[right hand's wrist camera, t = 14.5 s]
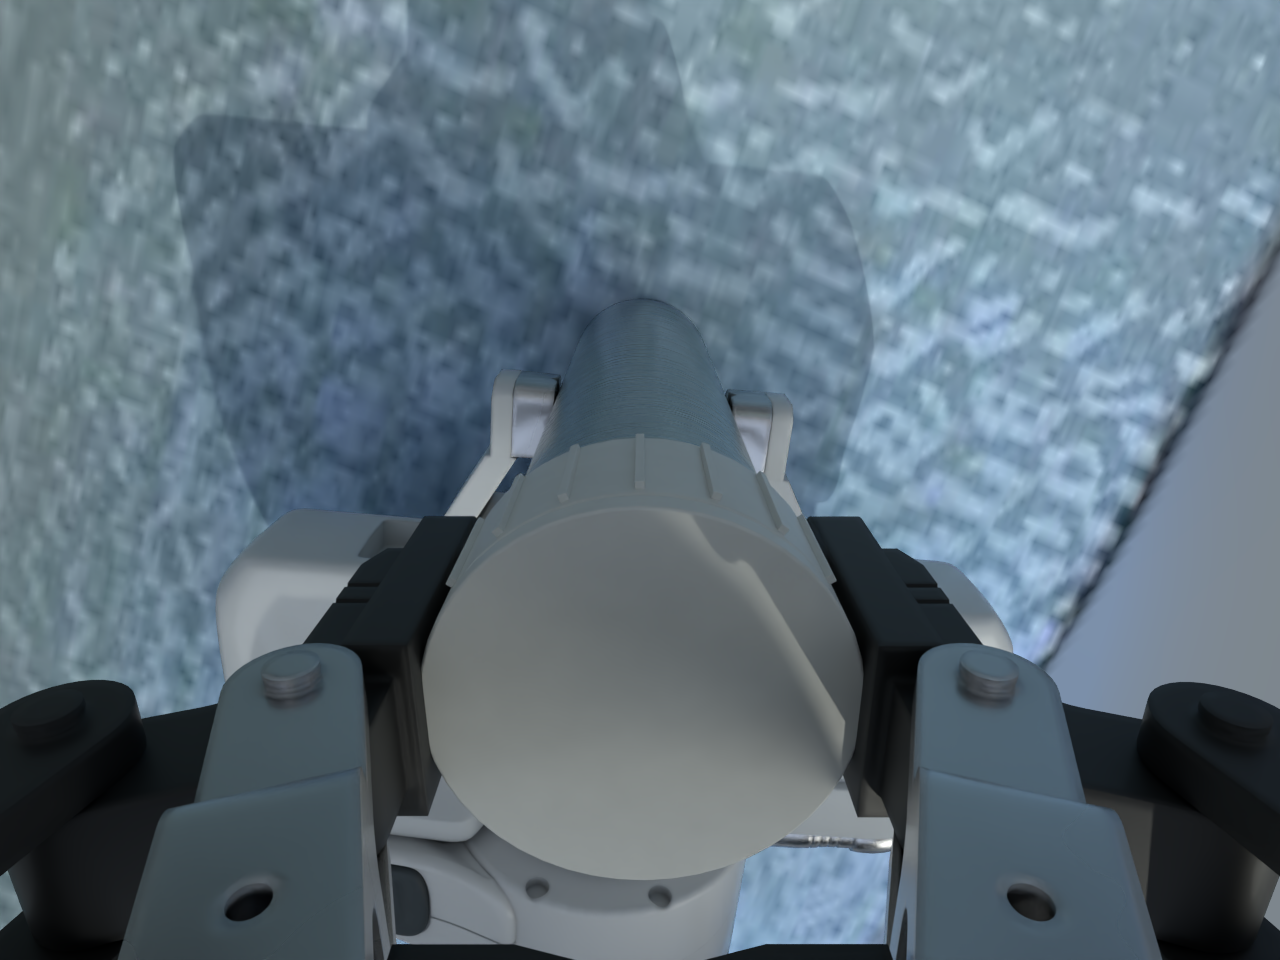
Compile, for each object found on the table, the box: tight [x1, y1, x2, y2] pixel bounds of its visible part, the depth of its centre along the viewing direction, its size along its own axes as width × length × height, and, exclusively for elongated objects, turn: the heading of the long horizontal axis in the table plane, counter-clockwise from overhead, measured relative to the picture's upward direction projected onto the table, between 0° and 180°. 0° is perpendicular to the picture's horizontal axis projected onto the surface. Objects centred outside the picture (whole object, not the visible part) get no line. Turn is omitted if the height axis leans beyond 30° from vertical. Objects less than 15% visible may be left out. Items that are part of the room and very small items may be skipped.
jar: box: [526, 299, 757, 475], centre depth 17 cm, size 4×4×17 cm
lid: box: [421, 434, 864, 880], centre depth 10 cm, size 5×5×2 cm
